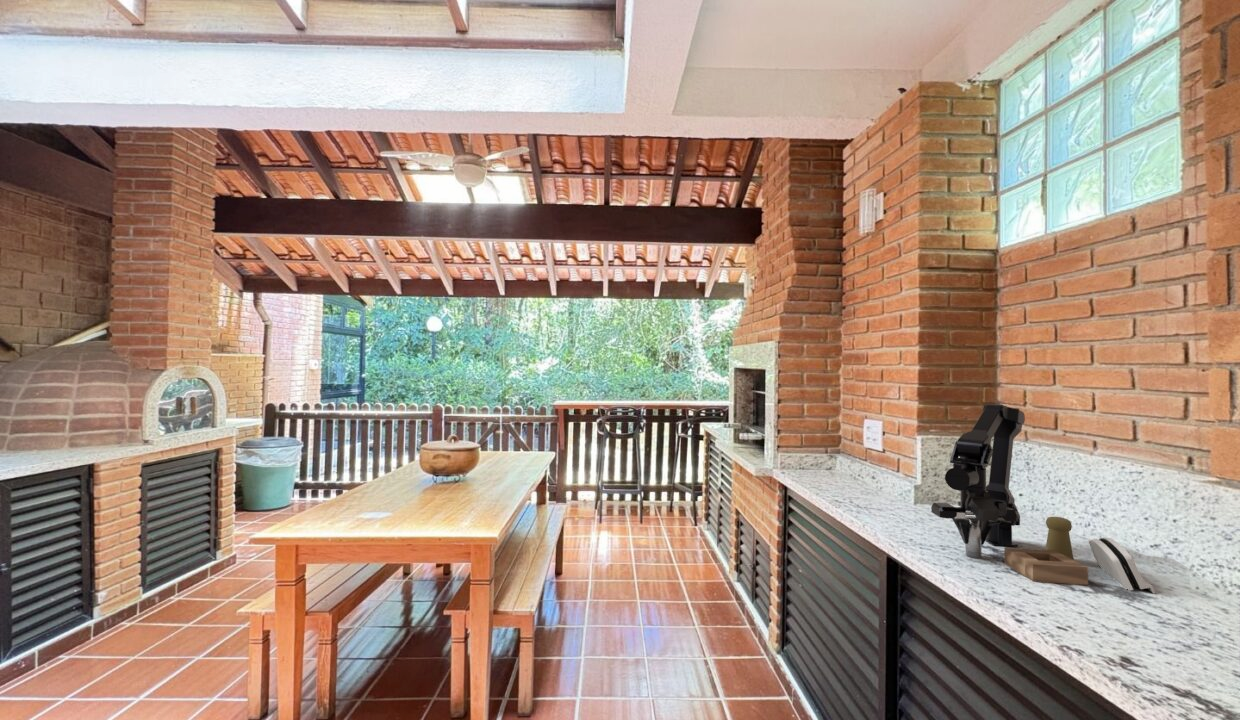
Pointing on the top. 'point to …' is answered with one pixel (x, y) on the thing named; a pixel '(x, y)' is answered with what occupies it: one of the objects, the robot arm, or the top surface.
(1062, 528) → the cork
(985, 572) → the top surface
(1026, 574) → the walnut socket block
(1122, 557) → the grey black curved wedge
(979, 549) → the grey metal peg
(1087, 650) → the top surface
